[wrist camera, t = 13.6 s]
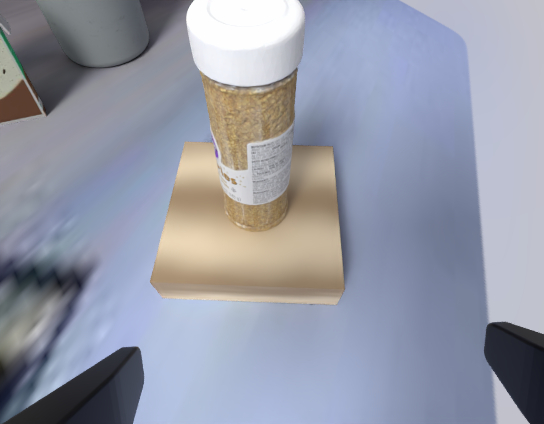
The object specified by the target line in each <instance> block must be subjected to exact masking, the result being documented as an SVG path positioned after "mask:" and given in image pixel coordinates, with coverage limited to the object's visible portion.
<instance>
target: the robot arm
mask: <svg viewBox="0 0 544 424" xmlns="http://www.w3.org/2000/svg"><path fill="white" fill-rule="evenodd" d="M484 354H485V358H486V360H487V362H488V363H489V365H490V366H491V368H492V369H493V371H494V372H495V374H496V375H497V377H498V378H499V380H500V381H501V383H502V384H503V386H504V387H505V389H506V390H507V392H508V393H509V395H510V396H511V398H512V399H513V401H514V402H515V404H516V405H517V407H518V408H519V409H520V411H521V412H522V414H523V415H524V416H525V418H526V419H527V421H528V422H529V423H530V424H544V334H541V333H538V332H535V331H532V330H529V329H526V328H523V327H520V326H517V325H514V324H511V323H508V322H493V323H489V324H488V325H487V328H486V336H485V346H484ZM143 384H144V371H143V364H142V357H141V351H140V349H139V348H138V347H123V348H120V349H119V350H117V351H116V352H114V353H112V354H111V355H109V356H108V357H106V358H105V359H103V360H102V361H100V362H98V363H97V364H95V365H94V366H92V367H91V368H89V369H87V370H86V371H84V372H83V373H81V374H80V375H78V376H76V377H75V378H73V379H72V380H70V381H69V382H67V383H66V384H64V385H62V386H61V387H59V388H58V389H56V390H55V391H53V392H51V393H50V394H48V395H47V396H45V397H44V398H42V399H40V400H39V401H37V402H36V403H34V404H33V405H31V406H29V407H28V408H26V409H25V410H23V411H22V412H20V413H19V414H17V415H15V416H14V417H12V418H11V419H9V420H8V421H6V422H4V423H3V424H133V421H134V417H135V414H136V410H137V407H138V403H139V399H140V396H141V392H142V388H143Z"/></svg>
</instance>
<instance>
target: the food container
mask: <svg viewBox="0 0 544 424" xmlns="http://www.w3.org/2000/svg"><path fill="white" fill-rule="evenodd" d="M0 26H1V27H2V28H3V29H4V30H5V31H6V32H7V33H8V34H9V35H10V34H11V29H10V26H9V24H8V22H7V21H6V20H5V19H4V18H3V17H2V15H1V14H0ZM1 27H0V126H3V125H7V124H12V123H17V122H22V121H27V120H31V119H36V118H41V117H46V109H45V107H44V105H43V103H42V102H41V100H40V98H39V96H38V94H37V92H36V91H35V89H34V87H33V85H32V83H31V81H30V80H29V78H28V76H27V74H26V72H25V71H24V69H23V67H22V65H21V63H20V61H19V60H18V58H17V56H16V54H15V52H14V50H13V49H12V47H11V45H10V43H9V41H8V40H7V38H6V36H5V34H4V32H3V30H2V29H1Z"/></svg>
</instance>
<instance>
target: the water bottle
mask: <svg viewBox="0 0 544 424" xmlns="http://www.w3.org/2000/svg"><path fill="white" fill-rule="evenodd" d="M36 2H37V4H38V5H39V7H40V9H41V11H42V13H43V15H44V16H45V18H46V20H47V22H48V24H49V26H50V27H51V29H52V31H53V33H54V35H55V37H56V38H57V40H58V42H59V44H60V46H61V48H62V49H63V51H64V53H65V54H66V55H67V56H68V57H69V58H70V59H71V60H73V61H74V62H76V63H78V64H80V65H83V66H88V67H97V68H101V67H111V66H116V65H120V64H123V63H126V62H128V61H130V60H132V59H134V58H136V57H137V56H138V55H140V54H141V53H142V52H143V51H144V50H145V48H146V47H147V45H148V42H149V30H148V27H147V24H146V21H145V17H144V14H143V11H142V7H141V4H140V1H139V0H36Z"/></svg>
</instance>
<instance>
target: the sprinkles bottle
mask: <svg viewBox="0 0 544 424" xmlns="http://www.w3.org/2000/svg"><path fill="white" fill-rule="evenodd" d="M186 22H187V28H188V34H189V40H190V45H191V50H192V55H193V59H194V62H195V64H196V65H197V67H198V68H199V70H200V74H201V76H202V82H203V85H204V90H205V96H206V101H207V107H208V113H209V118H210V129H211V134H212V140H213V144H214V150H215V155H216V161H217V167H218V173H219V178H220V183H221V186H222V188H223V195H224V209H225V214H226V215H227V217H228V219H229V220H230V221H231V222H232V223H233V224H234V225H236V226H237V227H238V228H240V229H244V230H246V231H251V232H260V231H267V230H269V229H271V228H272V227H275V226H276V225H278V224H279V223H280V222H281V221H282V220H283V218H284V217H285V215H286V212H287V209H288V199H287V186H288V184H289V179H290V168H291V157H292V145H293V134H294V120H295V111H294V104H295V91H296V80H297V77H296V76H297V71H298V69H297V66H298V65H299V63H300V62H301V59H302V55H303V45H304V32H305V13H304V10H303V7H302V5H301V4H300V2H299V1H298V0H194V1H193V3H192V4H191V5H190V7H189V9H188V12H187V18H186Z"/></svg>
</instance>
